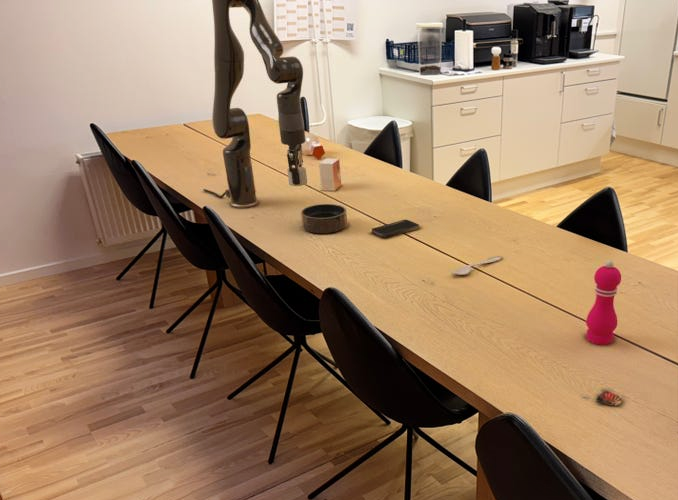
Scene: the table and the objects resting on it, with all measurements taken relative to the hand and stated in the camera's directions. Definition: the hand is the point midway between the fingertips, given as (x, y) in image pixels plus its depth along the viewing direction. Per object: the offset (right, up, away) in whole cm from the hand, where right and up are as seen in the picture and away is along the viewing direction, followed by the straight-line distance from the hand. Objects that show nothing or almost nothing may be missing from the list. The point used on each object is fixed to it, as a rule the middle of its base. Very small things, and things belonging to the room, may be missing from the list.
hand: (298, 181), depth 219 cm
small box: (+3, +10, +47) cm, 48 cm away
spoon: (+57, -31, -20) cm, 68 cm away
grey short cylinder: (0, -1, 0) cm, 1 cm away
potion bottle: (-13, +35, +89) cm, 96 cm away
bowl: (+7, -13, +9) cm, 17 cm away
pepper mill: (+85, -53, -56) cm, 115 cm away
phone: (+31, -15, +6) cm, 35 cm away
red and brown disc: (+82, -66, -79) cm, 131 cm away
